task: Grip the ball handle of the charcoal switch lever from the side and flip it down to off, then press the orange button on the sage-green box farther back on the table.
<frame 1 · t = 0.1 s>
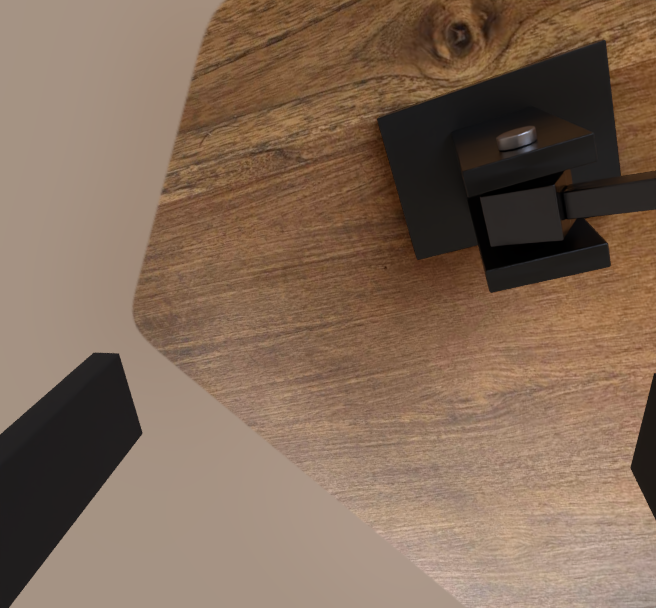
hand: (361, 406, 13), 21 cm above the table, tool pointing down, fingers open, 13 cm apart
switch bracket: (497, 159, 29), on the table
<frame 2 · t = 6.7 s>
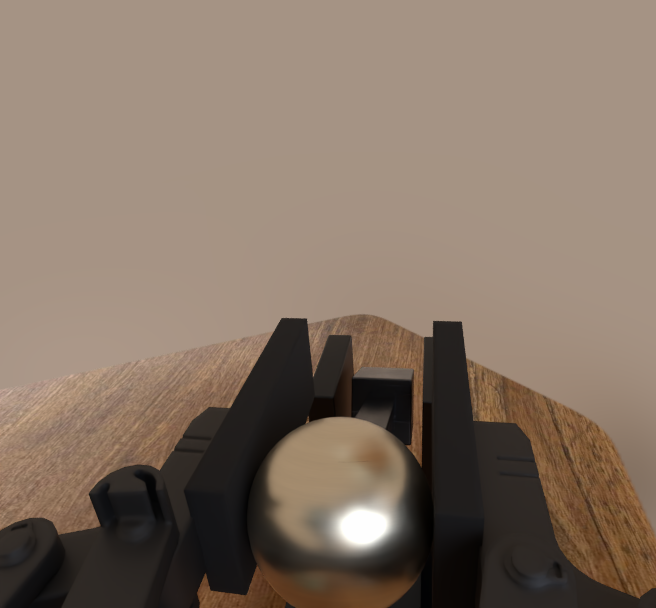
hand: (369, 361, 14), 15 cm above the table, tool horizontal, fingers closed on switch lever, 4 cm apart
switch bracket: (389, 586, 24), on the table
switch lever: (368, 440, 14), point 13 cm above the table, hinge at 25.0°, touching gripper
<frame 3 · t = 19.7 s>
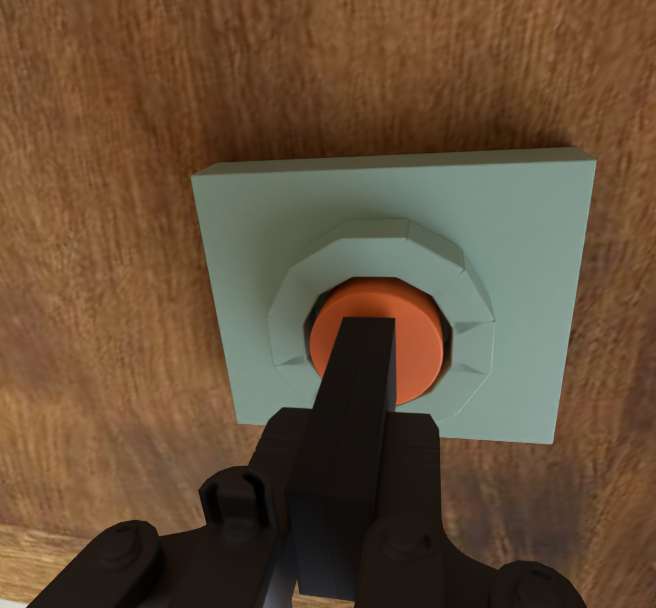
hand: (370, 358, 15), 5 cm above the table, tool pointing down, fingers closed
start button: (377, 338, 16), point 4 cm above the table, slide at -0.8 cm, touching gripper
button box: (386, 291, 19), on the table
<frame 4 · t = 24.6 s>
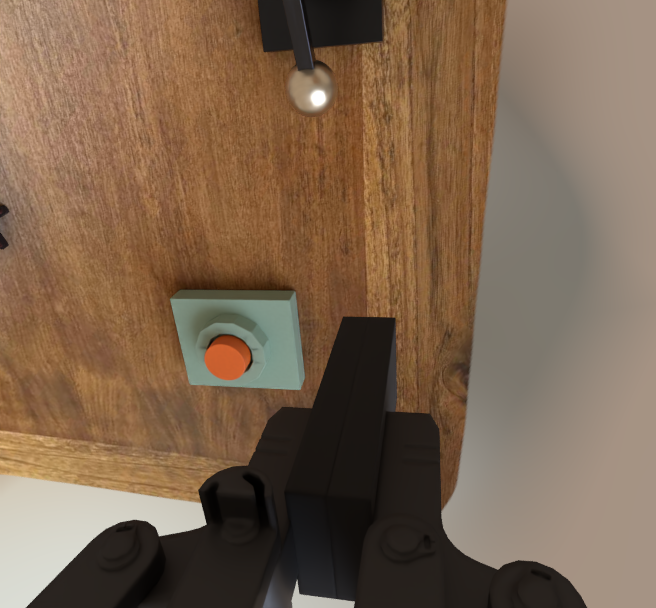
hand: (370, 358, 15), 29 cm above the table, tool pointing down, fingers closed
switch lever: (296, 16, 30), point 8 cm above the table, hinge at -30.5°
start button: (227, 357, 47), point 4 cm above the table, slide at 0.1 cm
button box: (243, 334, 51), on the table
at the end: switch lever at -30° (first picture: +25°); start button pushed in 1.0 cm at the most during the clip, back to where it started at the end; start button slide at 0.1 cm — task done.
